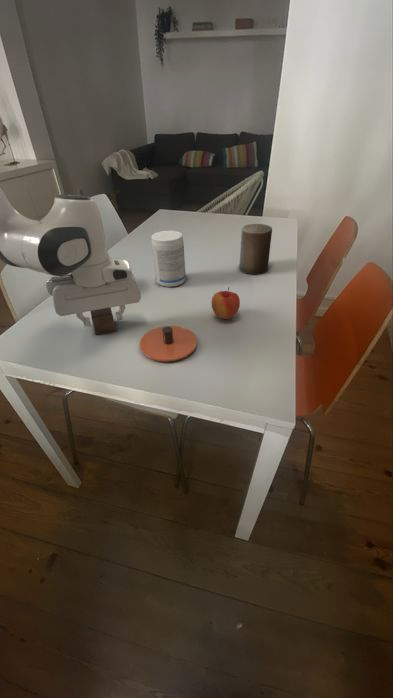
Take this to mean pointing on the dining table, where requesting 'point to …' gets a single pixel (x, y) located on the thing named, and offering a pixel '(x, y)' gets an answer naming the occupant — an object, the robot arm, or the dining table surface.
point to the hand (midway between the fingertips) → (104, 322)
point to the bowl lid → (168, 343)
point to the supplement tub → (168, 258)
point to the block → (103, 321)
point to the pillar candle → (255, 248)
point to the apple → (225, 304)
